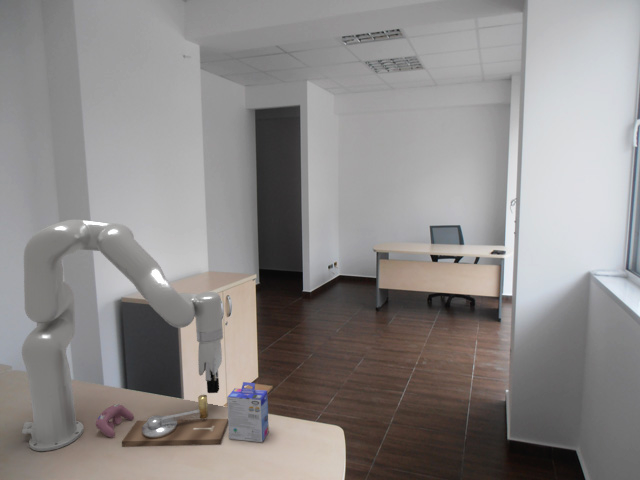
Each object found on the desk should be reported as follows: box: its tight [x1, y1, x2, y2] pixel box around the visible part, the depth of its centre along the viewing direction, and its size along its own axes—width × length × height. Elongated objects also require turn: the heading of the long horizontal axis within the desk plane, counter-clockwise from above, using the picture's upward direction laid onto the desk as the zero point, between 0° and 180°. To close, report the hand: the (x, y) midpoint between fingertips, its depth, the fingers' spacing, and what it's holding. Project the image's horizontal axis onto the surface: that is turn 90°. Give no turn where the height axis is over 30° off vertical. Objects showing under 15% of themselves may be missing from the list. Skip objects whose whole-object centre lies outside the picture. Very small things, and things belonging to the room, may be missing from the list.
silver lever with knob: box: [142, 394, 209, 438], centre depth 116 cm, size 18×9×7 cm, turn 110°
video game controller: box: [95, 403, 135, 438], centre depth 118 cm, size 10×5×7 cm, turn 169°
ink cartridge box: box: [226, 381, 270, 443], centre depth 113 cm, size 10×6×14 cm, turn 78°
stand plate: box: [121, 418, 229, 448], centre depth 115 cm, size 26×10×2 cm, turn 90°
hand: (213, 391), depth 127 cm, fingers closed
